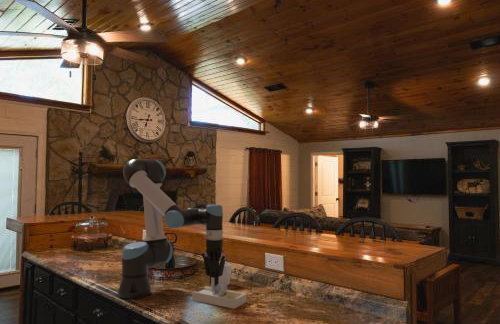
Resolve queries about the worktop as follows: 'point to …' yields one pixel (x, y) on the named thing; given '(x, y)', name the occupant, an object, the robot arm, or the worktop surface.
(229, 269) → the white cup
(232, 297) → the box with sliding lid
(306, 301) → the worktop surface
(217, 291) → the clip
